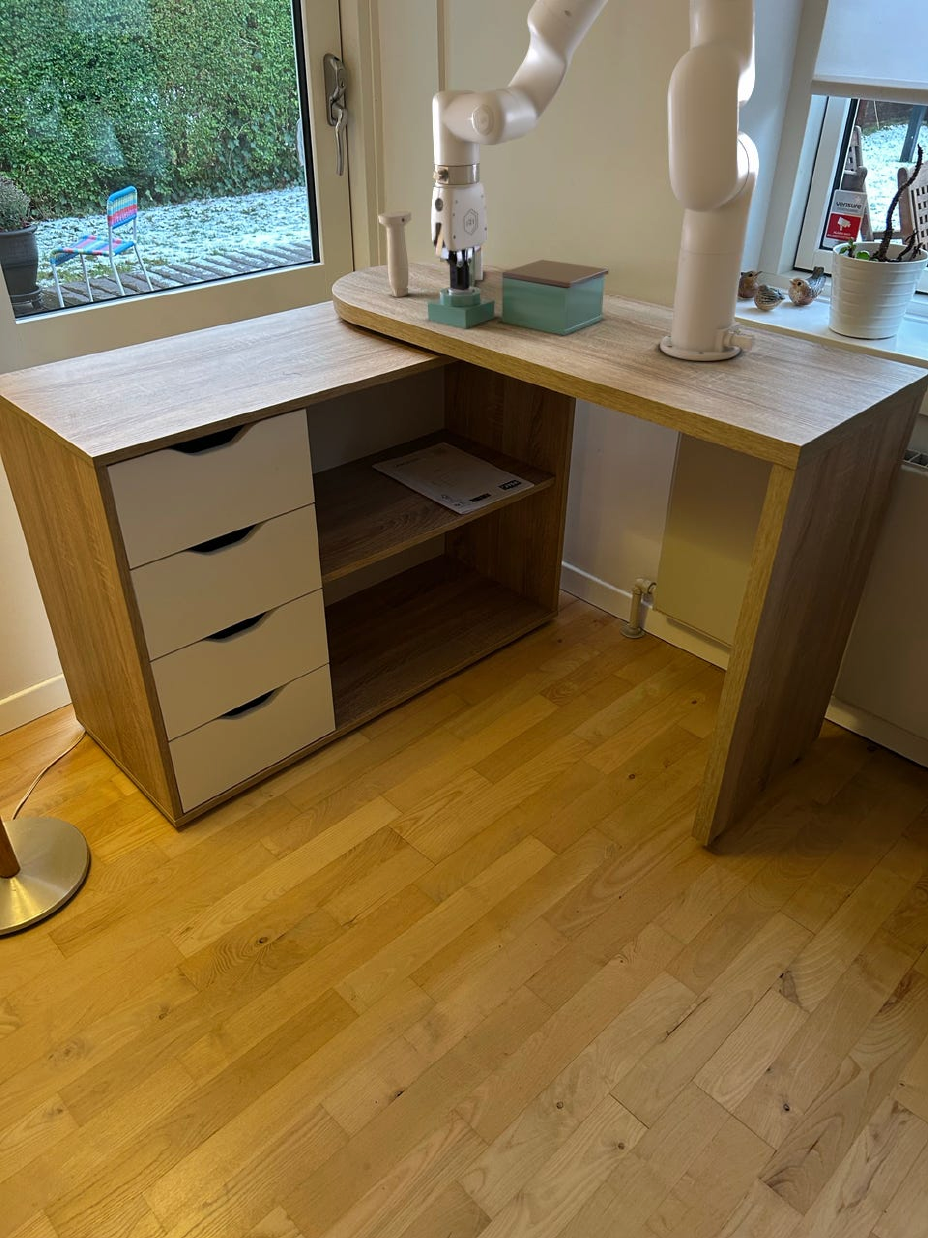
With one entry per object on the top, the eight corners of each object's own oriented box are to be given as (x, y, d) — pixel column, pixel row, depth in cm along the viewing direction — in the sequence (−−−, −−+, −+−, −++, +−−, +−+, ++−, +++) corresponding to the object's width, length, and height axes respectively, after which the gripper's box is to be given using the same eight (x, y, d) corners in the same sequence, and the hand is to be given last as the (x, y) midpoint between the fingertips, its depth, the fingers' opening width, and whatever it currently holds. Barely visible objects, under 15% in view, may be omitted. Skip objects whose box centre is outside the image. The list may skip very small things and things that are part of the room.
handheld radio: (454, 307, 172) (462, 275, 193) (471, 308, 172) (478, 275, 193) (454, 270, 169) (463, 241, 189) (472, 271, 168) (478, 242, 189)
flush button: (478, 297, 164) (477, 287, 163) (462, 302, 161) (461, 292, 160) (459, 293, 166) (459, 283, 165) (443, 299, 163) (443, 289, 162)
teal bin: (601, 319, 163) (604, 274, 159) (564, 335, 156) (565, 288, 152) (540, 307, 171) (541, 264, 166) (502, 322, 163) (502, 276, 159)
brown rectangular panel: (608, 273, 158) (608, 269, 158) (569, 287, 151) (569, 282, 151) (542, 263, 166) (542, 259, 166) (502, 276, 159) (502, 271, 159)
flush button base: (494, 318, 166) (494, 289, 163) (465, 328, 161) (465, 299, 158) (457, 310, 171) (456, 282, 168) (428, 320, 166) (427, 291, 163)
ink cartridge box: (460, 270, 196) (458, 196, 187) (483, 270, 195) (482, 195, 187) (458, 280, 188) (456, 203, 180) (482, 280, 188) (481, 203, 180)
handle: (419, 294, 181) (415, 212, 173) (395, 300, 177) (390, 217, 169) (404, 290, 184) (399, 209, 176) (379, 296, 180) (373, 214, 172)
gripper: (444, 183, 146) (447, 300, 156) (502, 171, 155) (502, 282, 165) (410, 179, 150) (415, 293, 160) (469, 167, 159) (470, 276, 169)
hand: (459, 287), depth 163 cm, fingers closed
